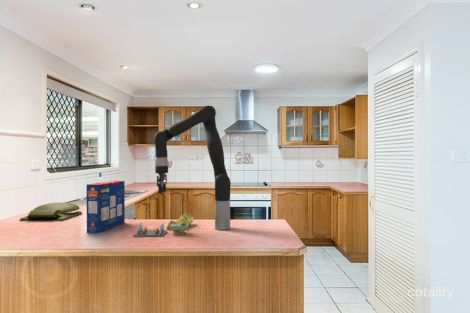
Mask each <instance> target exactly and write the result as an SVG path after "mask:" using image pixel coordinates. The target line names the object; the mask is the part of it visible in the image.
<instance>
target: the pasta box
mask: <svg viewBox="0 0 470 313" xmlns="http://www.w3.org/2000/svg"><path fill="white" fill-rule="evenodd" d="M125 191H126V189H125V180H109V181H104V182H96V183H89V184H88V183H87V184H86V233H88V234H89V233H91V234H100V233H101V234H102V233H103V232H105V231H108V230H111V229H113V228H116V227H118V226H120V225H123V224H124V225H125V223H126V221H125V217H126V215H125V214H126V213H125V212H126V211H125V199H126V198H125V197H126V195H125V193H126V192H125Z"/></svg>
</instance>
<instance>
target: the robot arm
mask: <svg viewBox="0 0 470 313" xmlns="http://www.w3.org/2000/svg"><path fill="white" fill-rule="evenodd" d="M216 111H217V110H216V109H215V107H214V106H213V105H204V106H203V107H202V108H200V109H199V110H198V111H197V112H195V113H194V114H192V115H190V116H188V117H186V118H184V119H182V120H180V121H178V122H175V123H173V124H172V125H170V126H168V127H167V128H165V129H163V130H161V131H160V130H159V131H157V132H156V133H154V145H155V146H154V147H155V155H154V156H155V160H154V168H155V174H158V175H156V187H157V189H158V194H163V192H165V193H166V191H167V184H168V176H167V175H168V173H169V159H168V158H169V157H168V156H169V155H168V147H167V145H168V144H167V142H169V141H170V140H172V139H174V138H175V137H178V136H180V135H182V134H184V133H186V132H187V131H189V130H190V129H192V128H194V127H195V126H197V125H199V124H203V128H204V133H205V140H206V148H207V152H208V156H209V159H210V163H211V164H212V168H213V175H214V177H213V178H214V229H215V230H216V231H217V230H218V231H228V230H230V229H231V179H230V177H229V176H228V172H227V169H226V165H225V153H224V152H225V151H224V147H223V142H222V138H221V136H220V134H219V131H218V128H217V123H216V122H217V121H216V116H217V112H216Z"/></svg>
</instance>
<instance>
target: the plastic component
mask: <svg viewBox="0 0 470 313" xmlns="http://www.w3.org/2000/svg"><path fill="white" fill-rule="evenodd" d="M194 220H195V217H194V216H193V215H191V214H190V213H188V212H186V211H185V212H183V214H181V215H180V217H179V218H178V219H177V220H173V219H172V220H170V221H169V222H168V223H167V224H168V225H167V226H166V229H165V230H169V226H170V225H171V224H182V223H186V224H189V226H191V224H192V223H193V221H194Z"/></svg>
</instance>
